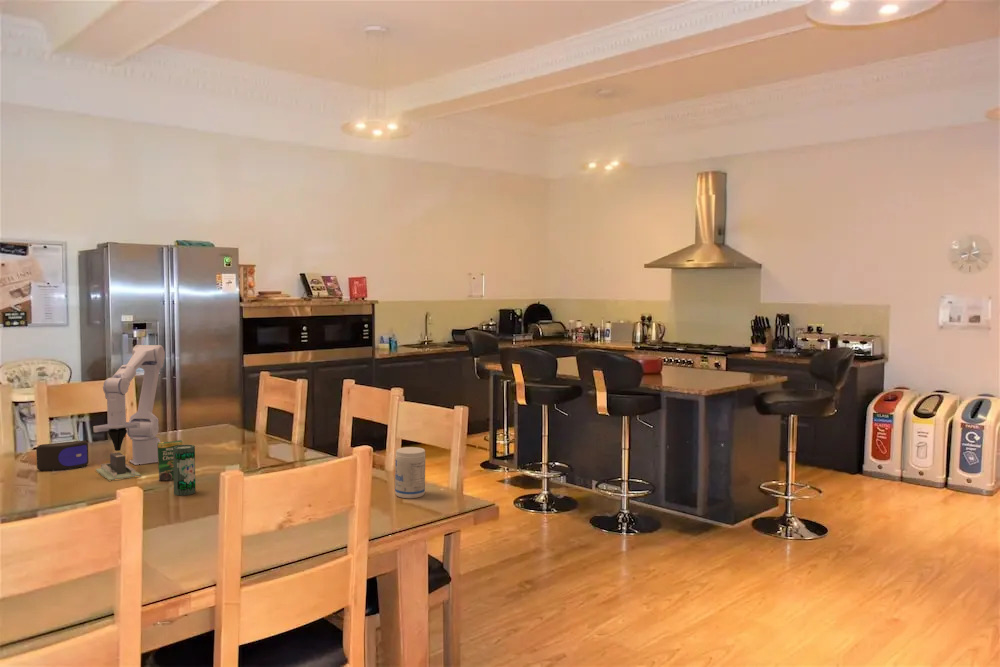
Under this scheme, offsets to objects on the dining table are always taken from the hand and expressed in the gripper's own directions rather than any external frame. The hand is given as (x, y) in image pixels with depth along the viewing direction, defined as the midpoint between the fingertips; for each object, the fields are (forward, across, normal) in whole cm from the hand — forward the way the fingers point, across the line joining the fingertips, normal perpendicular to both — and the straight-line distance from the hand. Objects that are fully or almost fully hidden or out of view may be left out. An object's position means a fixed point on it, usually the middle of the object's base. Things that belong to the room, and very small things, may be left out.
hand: (117, 450), depth 269 cm
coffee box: (+9, +12, -19) cm, 24 cm away
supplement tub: (+9, +65, -86) cm, 108 cm away
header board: (+8, 0, 0) cm, 8 cm away
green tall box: (+9, +10, -39) cm, 41 cm away
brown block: (+8, 0, 0) cm, 8 cm away
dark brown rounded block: (+9, -13, +21) cm, 26 cm away
